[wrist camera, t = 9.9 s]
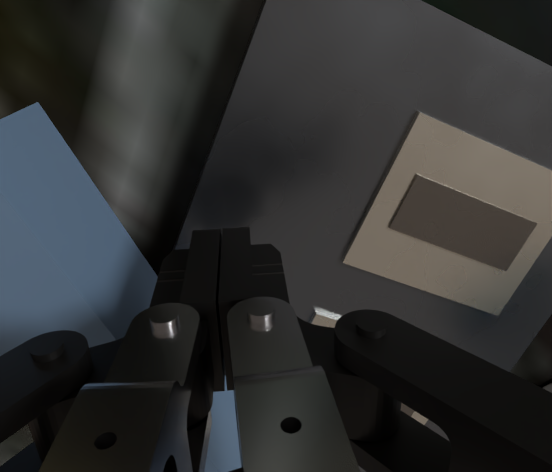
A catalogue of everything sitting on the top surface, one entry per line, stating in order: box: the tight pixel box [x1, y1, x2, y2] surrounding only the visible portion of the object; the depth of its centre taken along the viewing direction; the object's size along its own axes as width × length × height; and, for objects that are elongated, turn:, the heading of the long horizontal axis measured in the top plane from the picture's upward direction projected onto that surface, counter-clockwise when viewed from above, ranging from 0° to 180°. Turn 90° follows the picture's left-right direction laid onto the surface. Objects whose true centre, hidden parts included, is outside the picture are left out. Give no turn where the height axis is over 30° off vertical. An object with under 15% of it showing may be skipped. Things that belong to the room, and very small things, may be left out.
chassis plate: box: [172, 0, 552, 472], centre depth 17 cm, size 22×13×2 cm, turn 157°
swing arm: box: [0, 102, 241, 472], centre depth 14 cm, size 20×4×6 cm, turn 25°
